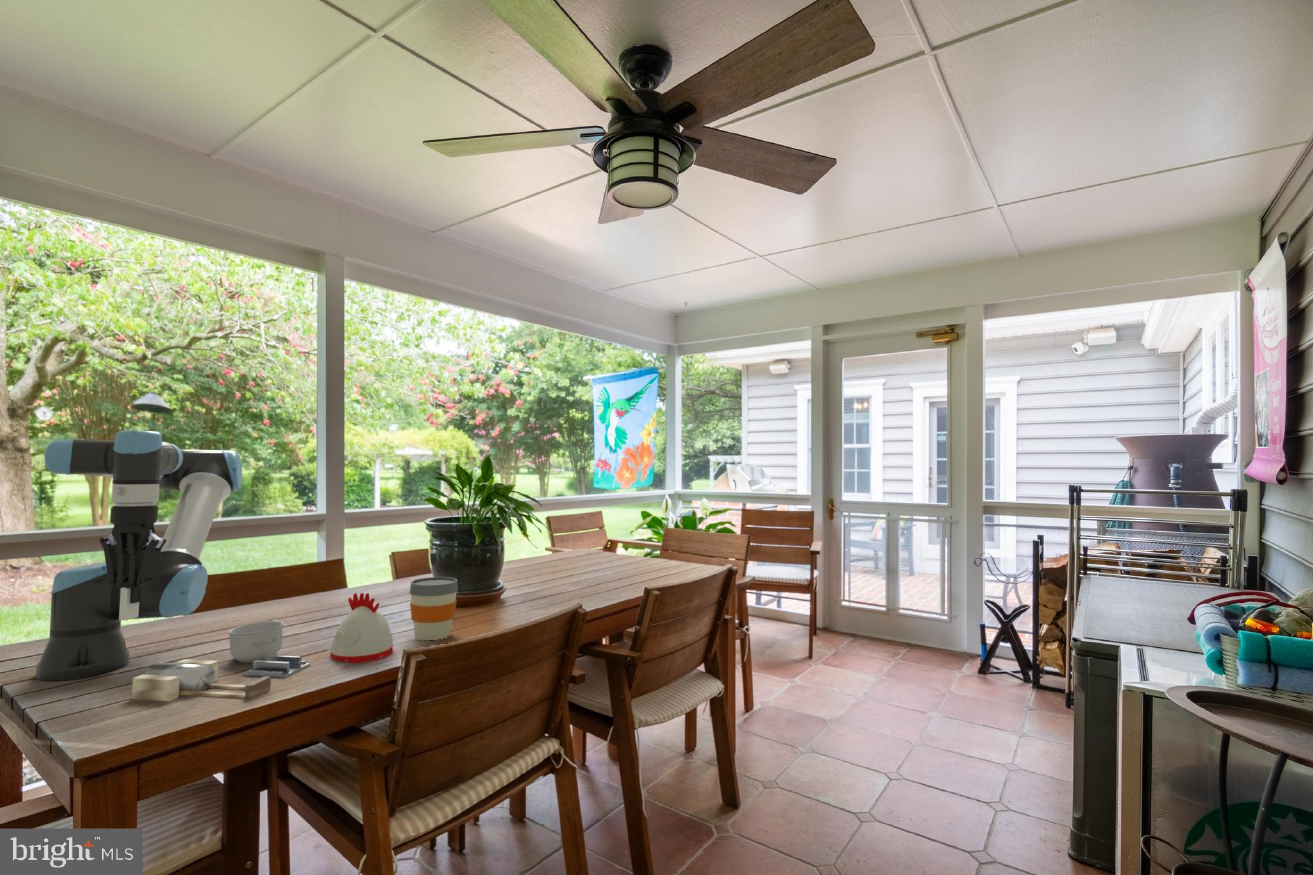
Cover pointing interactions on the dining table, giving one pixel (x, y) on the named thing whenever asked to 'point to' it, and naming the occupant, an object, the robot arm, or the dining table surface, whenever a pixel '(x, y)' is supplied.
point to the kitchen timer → (362, 633)
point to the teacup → (256, 640)
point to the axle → (185, 674)
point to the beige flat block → (169, 690)
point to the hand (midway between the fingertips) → (128, 618)
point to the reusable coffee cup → (433, 606)
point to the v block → (277, 666)
